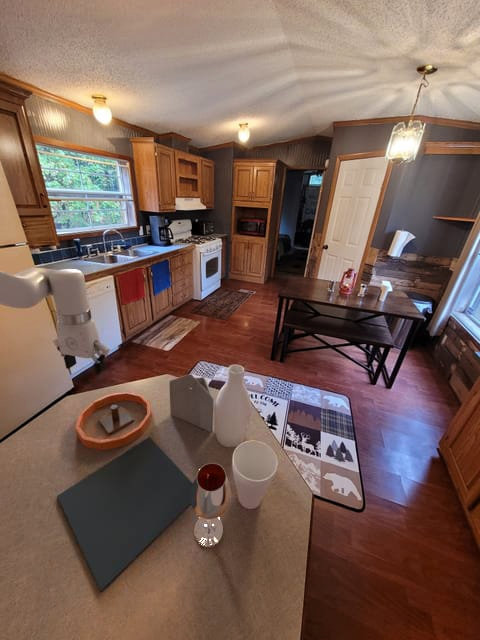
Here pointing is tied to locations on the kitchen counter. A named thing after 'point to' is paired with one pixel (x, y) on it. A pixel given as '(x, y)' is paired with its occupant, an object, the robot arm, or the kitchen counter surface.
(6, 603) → the kitchen counter surface
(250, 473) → the cup
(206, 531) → the wineglass
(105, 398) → the hoop
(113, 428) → the peg
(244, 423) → the bottle
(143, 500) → the mat
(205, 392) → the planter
